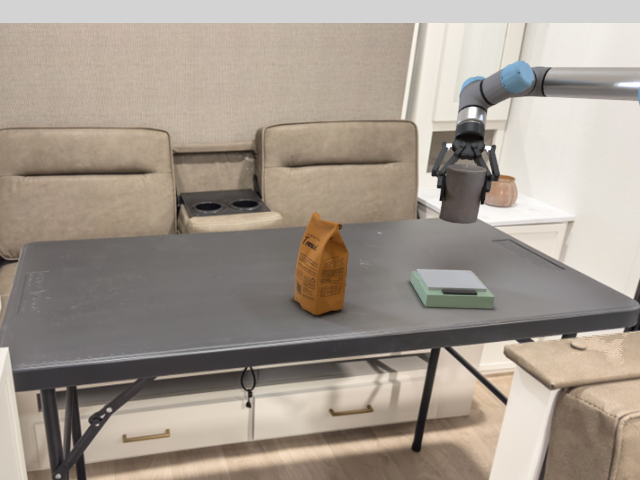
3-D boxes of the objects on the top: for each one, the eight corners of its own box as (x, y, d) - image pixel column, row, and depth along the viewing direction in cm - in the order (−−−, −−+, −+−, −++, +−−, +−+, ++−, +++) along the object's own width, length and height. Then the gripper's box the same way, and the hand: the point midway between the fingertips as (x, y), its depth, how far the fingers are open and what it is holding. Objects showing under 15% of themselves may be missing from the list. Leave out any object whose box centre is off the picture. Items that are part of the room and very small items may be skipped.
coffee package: (323, 292, 147) (330, 208, 138) (348, 312, 137) (357, 222, 128) (288, 298, 144) (292, 211, 135) (311, 318, 133) (317, 226, 125)
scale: (492, 308, 140) (495, 293, 138) (425, 306, 140) (427, 291, 139) (471, 283, 154) (474, 269, 153) (410, 281, 155) (412, 267, 153)
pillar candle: (431, 217, 156) (440, 161, 150) (454, 212, 161) (464, 157, 155) (461, 226, 149) (472, 167, 143) (485, 220, 154) (496, 163, 148)
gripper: (511, 140, 158) (504, 211, 150) (426, 135, 164) (416, 203, 157) (517, 122, 151) (511, 196, 144) (429, 118, 157) (418, 188, 150)
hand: (461, 200), depth 150 cm, fingers closed on pillar candle, 9 cm apart
